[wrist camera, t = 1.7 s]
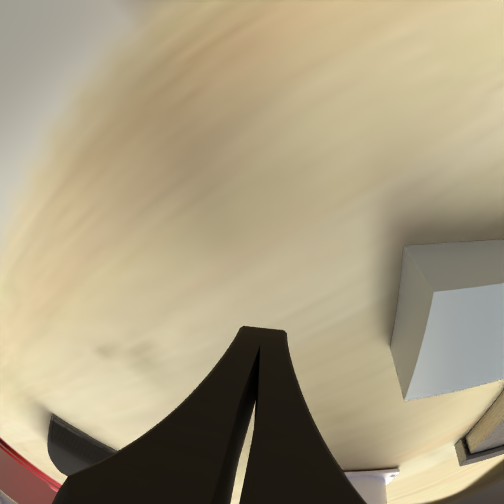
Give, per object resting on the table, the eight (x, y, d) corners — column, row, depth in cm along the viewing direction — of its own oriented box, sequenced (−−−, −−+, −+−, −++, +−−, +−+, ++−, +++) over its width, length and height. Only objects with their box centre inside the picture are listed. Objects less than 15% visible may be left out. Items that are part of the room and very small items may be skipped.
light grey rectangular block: (523, 321, 13) (550, 362, 10) (389, 344, 15) (404, 401, 11) (548, 233, 11) (590, 267, 7) (401, 243, 13) (433, 292, 9)
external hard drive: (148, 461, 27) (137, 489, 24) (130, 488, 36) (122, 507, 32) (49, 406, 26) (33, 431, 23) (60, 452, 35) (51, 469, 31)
